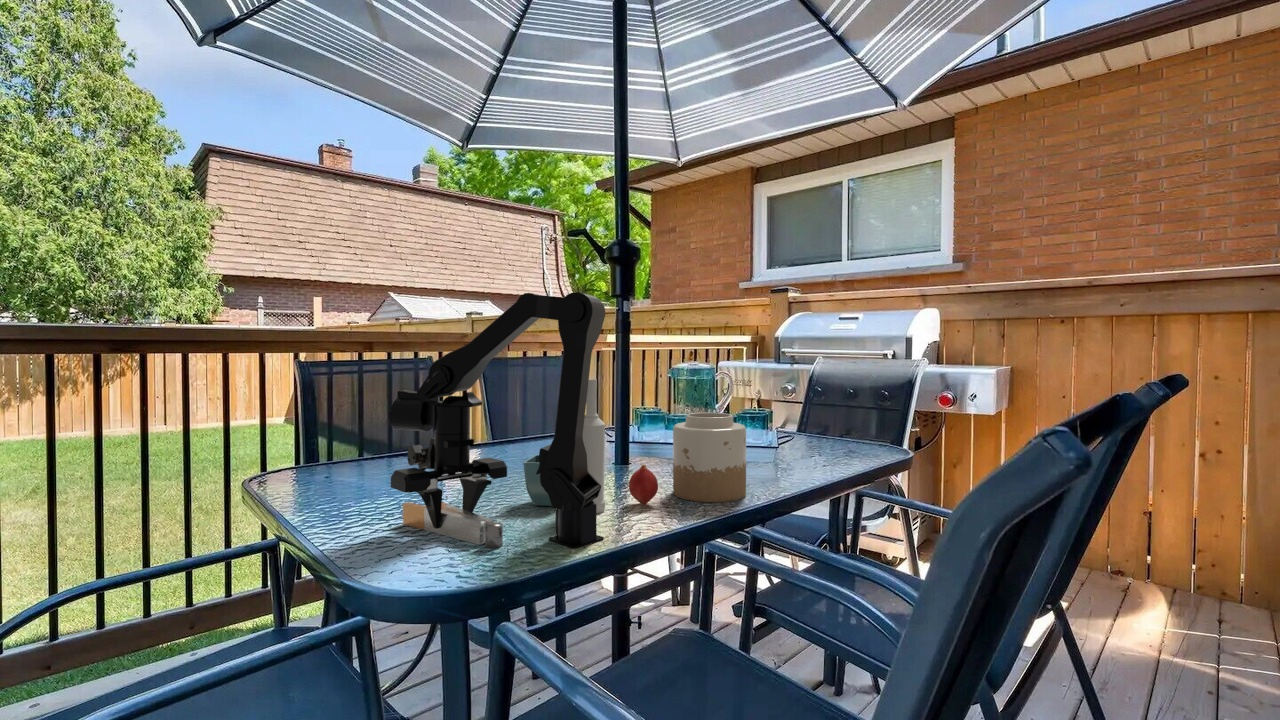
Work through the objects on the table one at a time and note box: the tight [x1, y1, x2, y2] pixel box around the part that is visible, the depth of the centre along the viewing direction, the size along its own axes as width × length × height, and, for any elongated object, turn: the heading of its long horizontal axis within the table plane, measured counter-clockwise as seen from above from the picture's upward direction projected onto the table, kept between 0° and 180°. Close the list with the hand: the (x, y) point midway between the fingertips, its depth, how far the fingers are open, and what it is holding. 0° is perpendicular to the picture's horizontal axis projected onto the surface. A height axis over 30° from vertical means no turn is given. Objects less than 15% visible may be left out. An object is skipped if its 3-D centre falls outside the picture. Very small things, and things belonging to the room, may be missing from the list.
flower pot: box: [523, 454, 552, 507], centre depth 123 cm, size 9×9×9 cm
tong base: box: [441, 501, 504, 550], centre depth 104 cm, size 23×3×4 cm, turn 46°
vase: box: [672, 412, 747, 503], centre depth 131 cm, size 15×15×17 cm
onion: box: [628, 464, 659, 506], centre depth 122 cm, size 6×6×8 cm
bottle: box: [583, 378, 606, 515], centre depth 117 cm, size 5×5×25 cm
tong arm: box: [402, 501, 486, 546], centre depth 103 cm, size 20×1×4 cm, turn 55°
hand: (451, 524), depth 105 cm, fingers open, 5 cm apart
